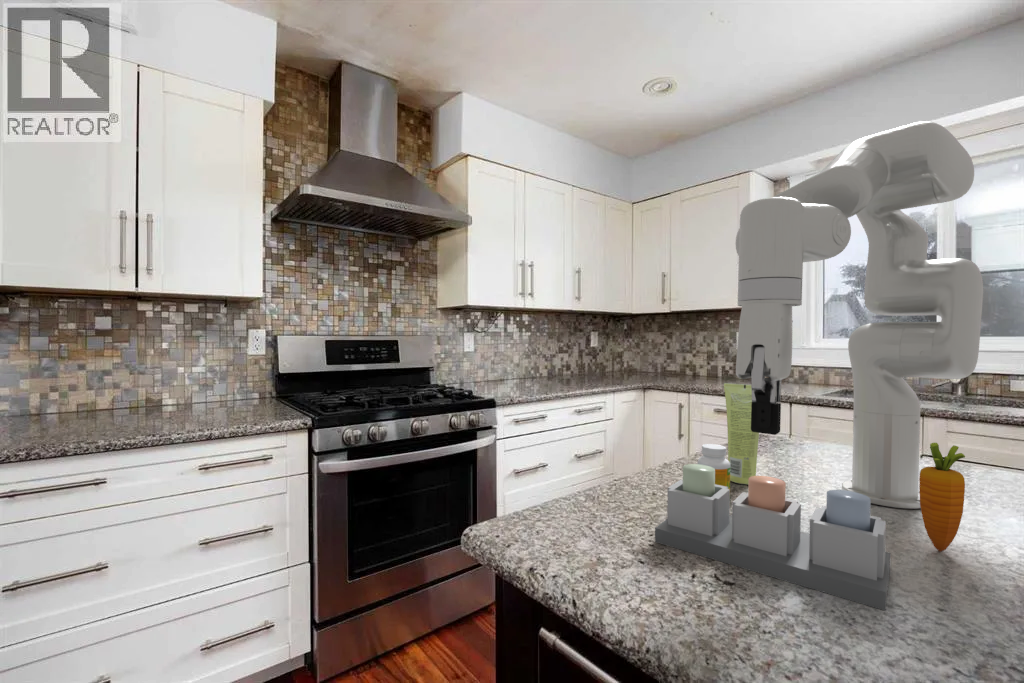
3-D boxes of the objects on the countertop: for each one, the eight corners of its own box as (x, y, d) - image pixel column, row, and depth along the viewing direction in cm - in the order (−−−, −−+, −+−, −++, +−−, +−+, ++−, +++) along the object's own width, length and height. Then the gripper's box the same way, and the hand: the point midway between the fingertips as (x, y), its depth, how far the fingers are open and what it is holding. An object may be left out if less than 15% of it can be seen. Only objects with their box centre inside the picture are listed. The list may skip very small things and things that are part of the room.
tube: (746, 476, 99) (747, 382, 99) (764, 484, 94) (765, 385, 94) (722, 478, 98) (723, 382, 98) (739, 486, 93) (740, 385, 93)
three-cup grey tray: (685, 516, 78) (686, 473, 78) (890, 568, 61) (891, 513, 61) (654, 541, 69) (655, 493, 69) (885, 610, 52) (886, 546, 52)
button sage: (688, 494, 74) (689, 462, 74) (718, 501, 71) (719, 467, 71) (677, 502, 70) (678, 468, 70) (708, 510, 67) (709, 474, 67)
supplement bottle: (733, 507, 82) (734, 450, 82) (699, 505, 83) (700, 449, 83) (725, 496, 87) (726, 443, 87) (694, 494, 88) (695, 442, 88)
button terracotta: (752, 509, 68) (753, 473, 68) (788, 516, 65) (788, 480, 65) (744, 518, 65) (744, 481, 64) (781, 527, 62) (781, 488, 62)
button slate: (828, 525, 62) (829, 487, 62) (871, 535, 59) (871, 495, 59) (823, 537, 59) (824, 496, 59) (868, 547, 56) (869, 504, 56)
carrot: (952, 546, 67) (955, 439, 67) (973, 562, 63) (976, 448, 62) (909, 541, 69) (911, 437, 69) (926, 556, 64) (929, 444, 64)
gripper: (752, 299, 72) (749, 422, 72) (722, 291, 61) (718, 436, 61) (811, 297, 67) (807, 429, 67) (789, 288, 56) (785, 446, 56)
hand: (765, 432), depth 64 cm, fingers closed
